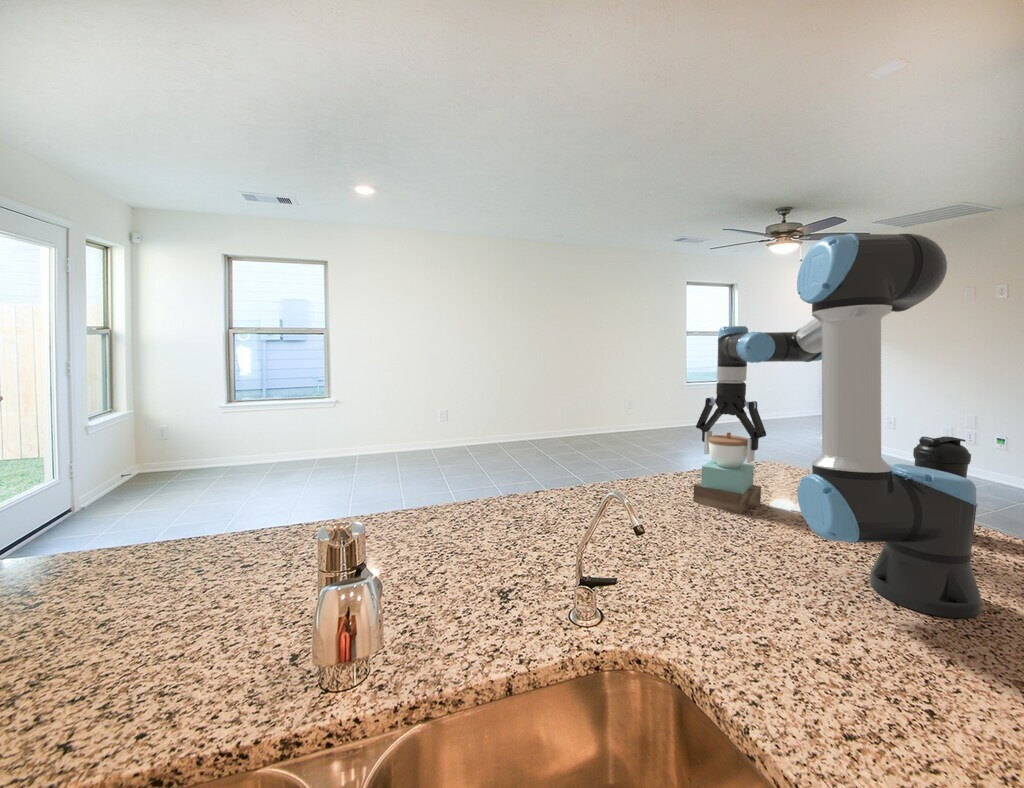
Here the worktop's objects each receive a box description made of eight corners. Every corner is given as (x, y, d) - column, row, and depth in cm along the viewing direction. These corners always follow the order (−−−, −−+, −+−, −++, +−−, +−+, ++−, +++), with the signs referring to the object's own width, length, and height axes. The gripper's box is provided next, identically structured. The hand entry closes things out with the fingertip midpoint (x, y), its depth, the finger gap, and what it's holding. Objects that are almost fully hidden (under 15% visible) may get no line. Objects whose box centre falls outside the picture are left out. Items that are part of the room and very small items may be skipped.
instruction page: (834, 519, 123) (834, 518, 123) (790, 510, 130) (790, 509, 130) (843, 505, 133) (843, 504, 133) (802, 498, 140) (802, 497, 140)
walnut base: (737, 513, 127) (738, 495, 127) (693, 501, 138) (693, 484, 137) (760, 503, 135) (761, 486, 135) (717, 492, 146) (717, 476, 145)
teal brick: (742, 494, 128) (743, 472, 128) (701, 486, 135) (702, 466, 135) (753, 484, 137) (753, 464, 136) (713, 478, 144) (714, 458, 143)
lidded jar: (740, 460, 140) (741, 429, 139) (755, 470, 129) (756, 436, 129) (702, 460, 141) (703, 429, 140) (714, 469, 131) (715, 436, 130)
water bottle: (976, 539, 110) (985, 442, 107) (931, 539, 110) (939, 442, 107) (937, 523, 120) (945, 433, 117) (896, 523, 120) (903, 433, 118)
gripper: (782, 383, 126) (778, 463, 128) (699, 378, 145) (696, 448, 147) (769, 385, 121) (765, 467, 123) (685, 380, 140) (682, 451, 142)
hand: (728, 457), depth 135 cm, fingers open, 12 cm apart
